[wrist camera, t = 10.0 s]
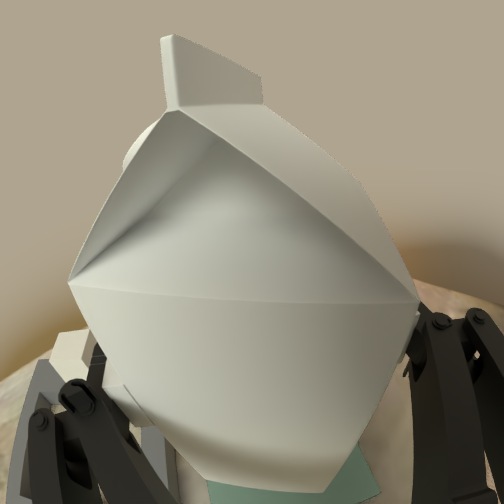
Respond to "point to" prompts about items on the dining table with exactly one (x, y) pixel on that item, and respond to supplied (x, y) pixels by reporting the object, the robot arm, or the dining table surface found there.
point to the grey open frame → (46, 394)
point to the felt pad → (331, 500)
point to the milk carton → (244, 284)
